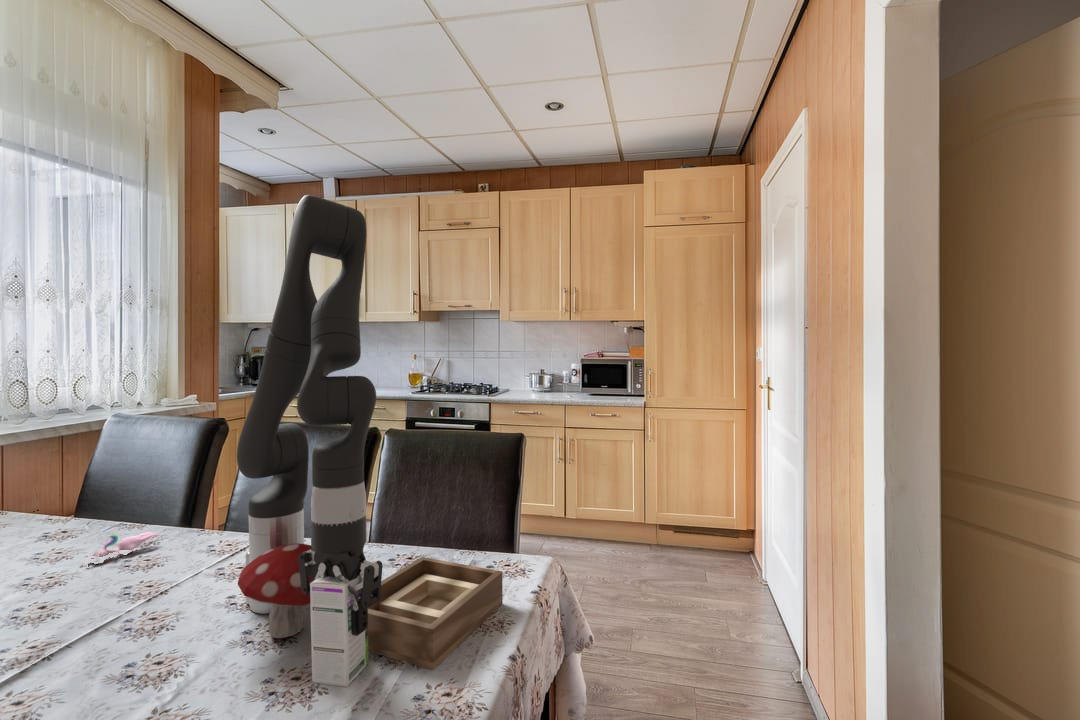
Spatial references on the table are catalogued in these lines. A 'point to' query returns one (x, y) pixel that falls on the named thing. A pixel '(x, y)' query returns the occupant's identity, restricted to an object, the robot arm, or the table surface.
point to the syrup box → (335, 634)
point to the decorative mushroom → (277, 587)
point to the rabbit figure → (124, 543)
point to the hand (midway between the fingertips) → (340, 627)
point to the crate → (431, 610)
